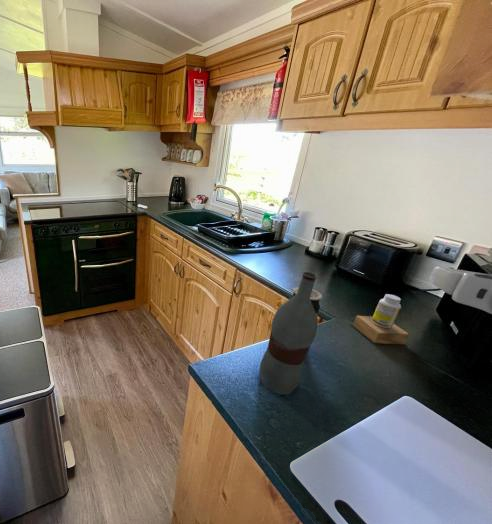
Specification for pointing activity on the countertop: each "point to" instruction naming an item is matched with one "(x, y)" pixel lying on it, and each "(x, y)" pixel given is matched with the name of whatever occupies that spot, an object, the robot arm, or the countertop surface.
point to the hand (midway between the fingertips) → (470, 273)
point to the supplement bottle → (387, 311)
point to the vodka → (290, 340)
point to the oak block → (380, 331)
